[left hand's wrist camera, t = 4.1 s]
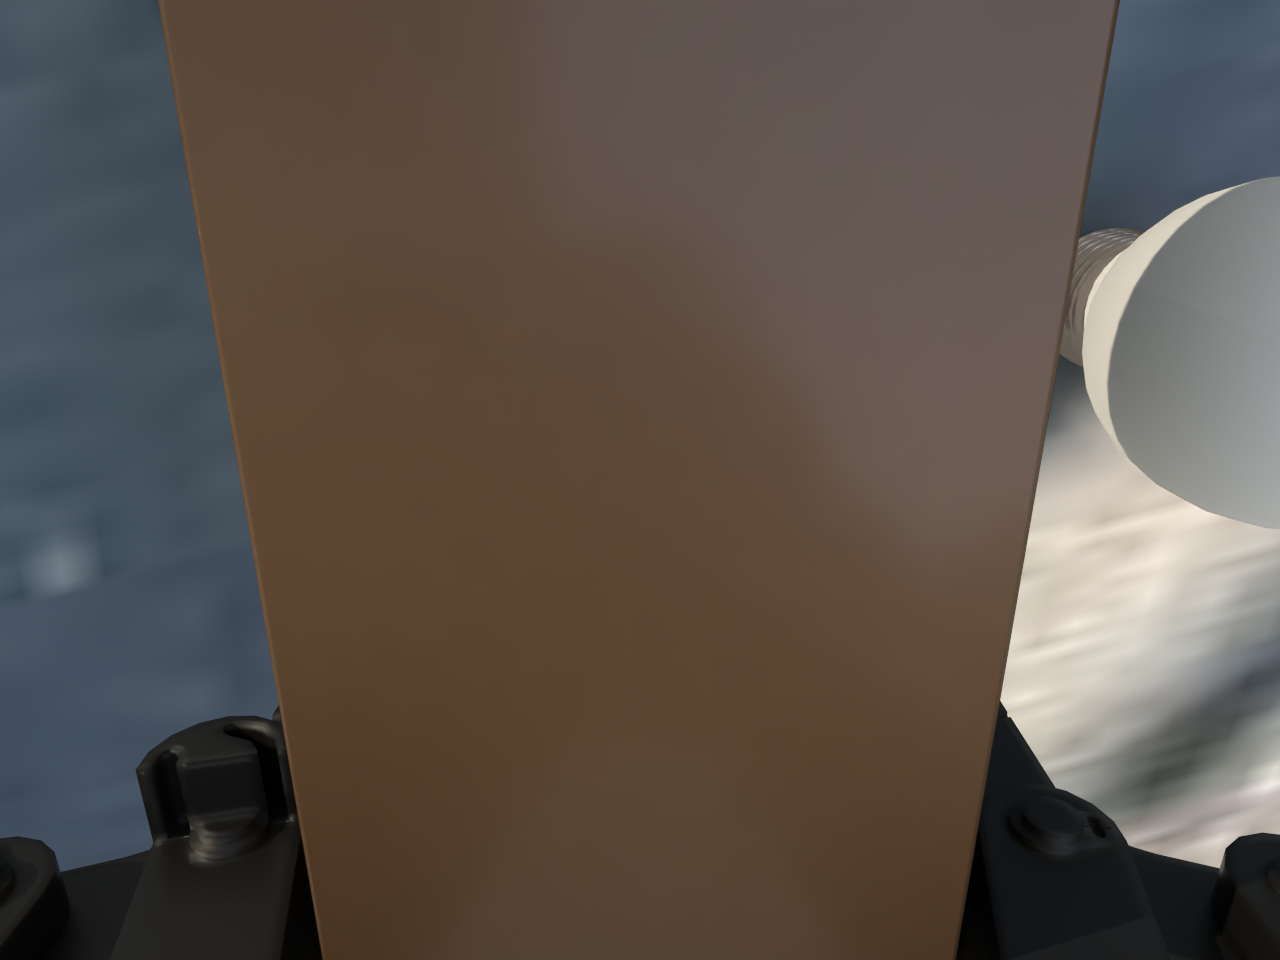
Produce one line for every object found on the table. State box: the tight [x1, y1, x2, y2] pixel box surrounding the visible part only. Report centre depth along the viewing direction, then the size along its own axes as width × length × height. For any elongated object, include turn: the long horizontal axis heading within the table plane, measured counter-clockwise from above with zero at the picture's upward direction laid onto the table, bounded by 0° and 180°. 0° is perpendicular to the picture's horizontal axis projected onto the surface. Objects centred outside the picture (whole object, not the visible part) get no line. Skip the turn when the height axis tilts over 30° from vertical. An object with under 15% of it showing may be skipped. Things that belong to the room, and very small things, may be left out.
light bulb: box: [1060, 177, 1280, 529], centre depth 19 cm, size 7×7×11 cm
